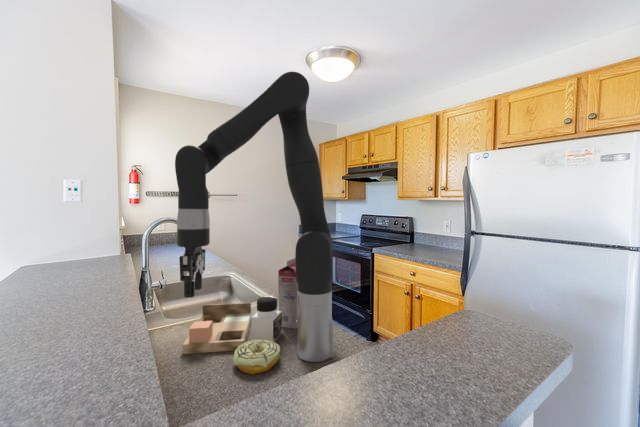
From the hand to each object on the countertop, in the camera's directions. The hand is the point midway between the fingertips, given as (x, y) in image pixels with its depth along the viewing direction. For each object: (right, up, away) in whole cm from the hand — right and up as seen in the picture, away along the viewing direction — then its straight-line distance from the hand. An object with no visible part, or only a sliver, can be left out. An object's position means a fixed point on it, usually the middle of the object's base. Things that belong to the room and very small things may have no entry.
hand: (193, 292), depth 71 cm
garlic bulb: (+13, -18, +35) cm, 41 cm away
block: (-1, -15, +7) cm, 17 cm away
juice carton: (+22, -18, +24) cm, 38 cm away
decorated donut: (+16, -18, 0) cm, 24 cm away
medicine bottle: (+16, -18, +14) cm, 28 cm away
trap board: (+1, -18, +16) cm, 24 cm away
